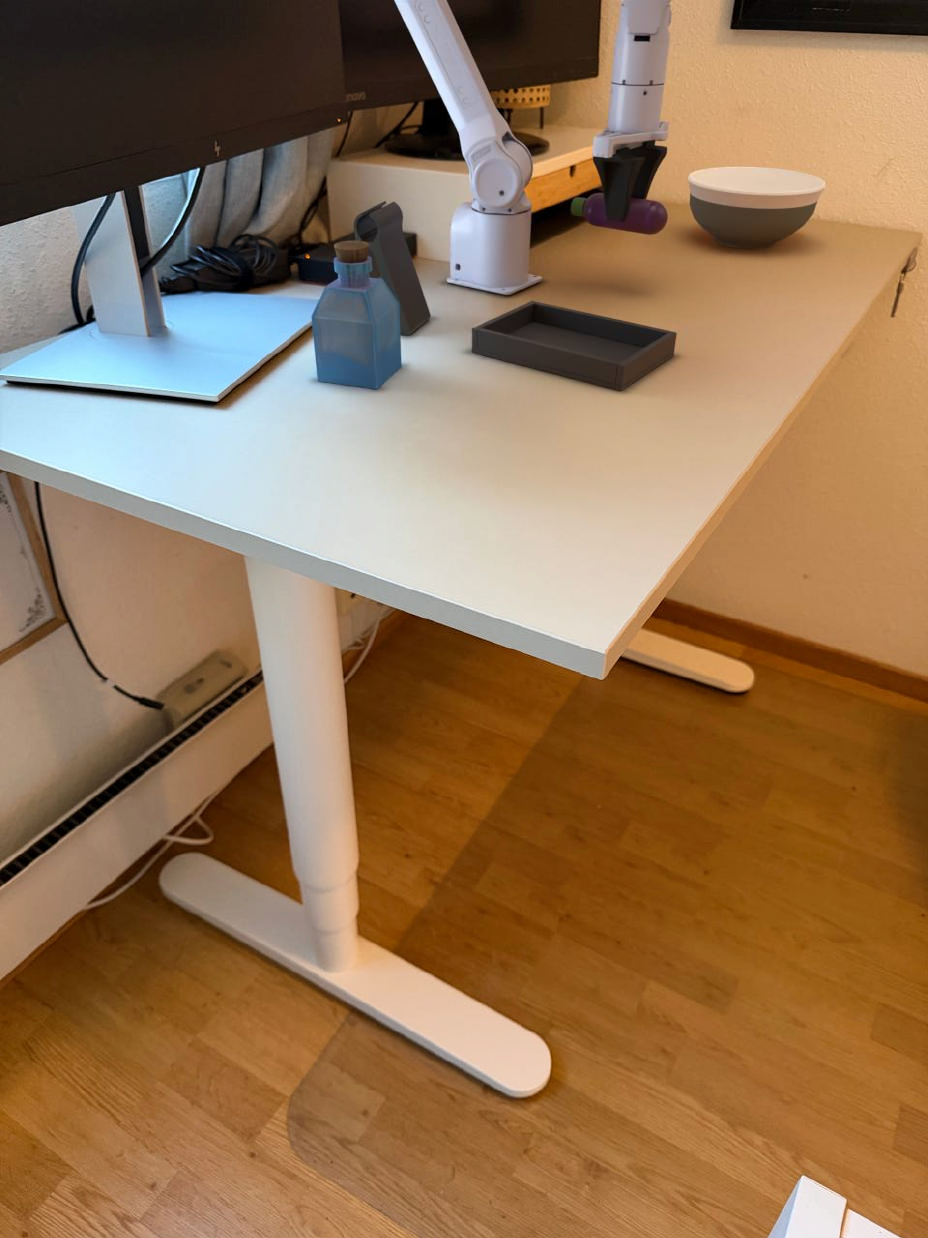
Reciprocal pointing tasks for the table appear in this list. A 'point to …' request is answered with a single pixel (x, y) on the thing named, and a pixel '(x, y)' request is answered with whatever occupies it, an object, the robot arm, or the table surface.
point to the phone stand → (393, 262)
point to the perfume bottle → (356, 323)
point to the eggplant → (639, 217)
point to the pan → (575, 344)
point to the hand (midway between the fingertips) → (623, 217)
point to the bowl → (752, 203)
